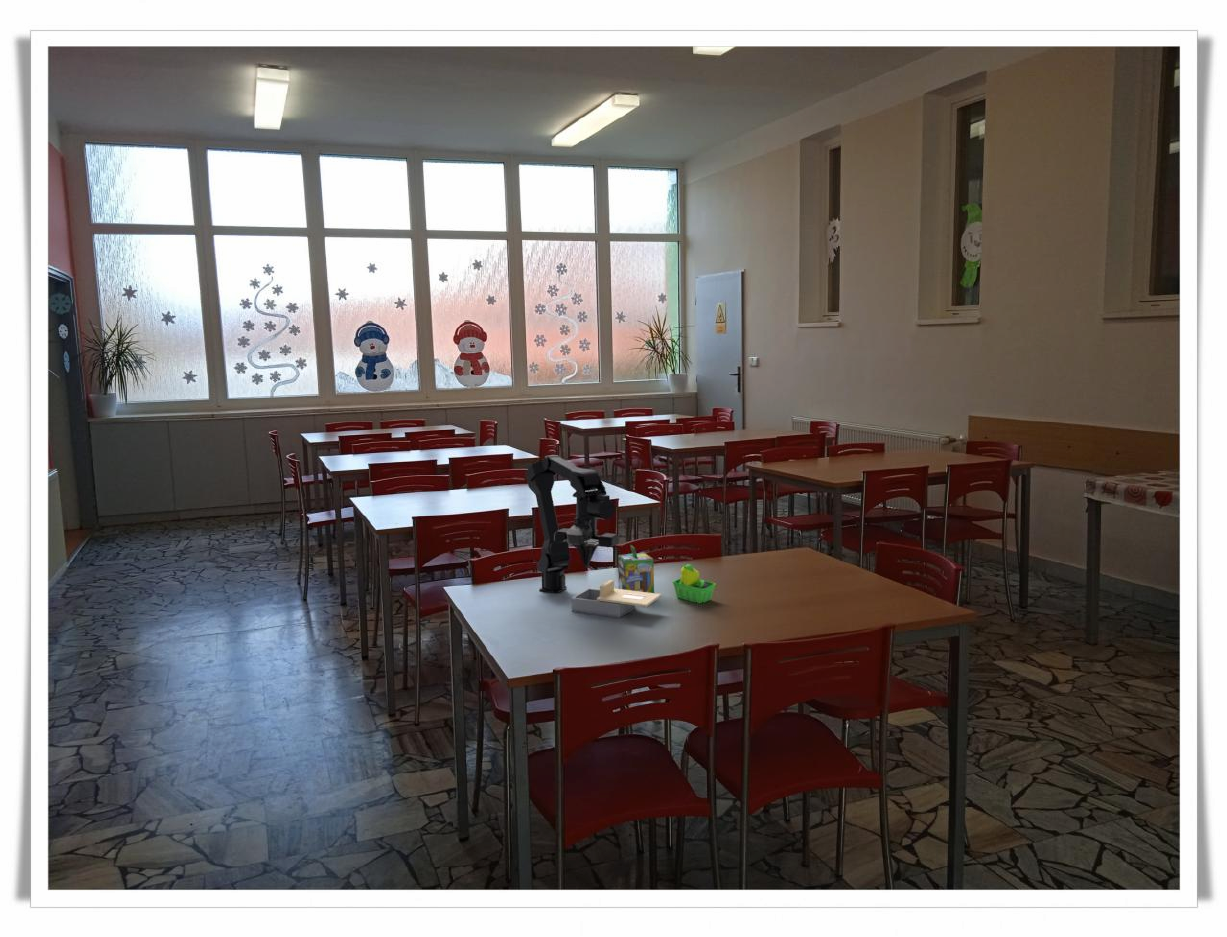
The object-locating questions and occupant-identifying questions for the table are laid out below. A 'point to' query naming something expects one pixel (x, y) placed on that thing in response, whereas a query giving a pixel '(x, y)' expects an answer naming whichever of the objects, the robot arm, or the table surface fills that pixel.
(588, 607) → the grey shallow rectangular container
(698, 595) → the fruit basket
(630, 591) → the lid
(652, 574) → the chalk box
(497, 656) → the table surface
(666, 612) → the table surface
